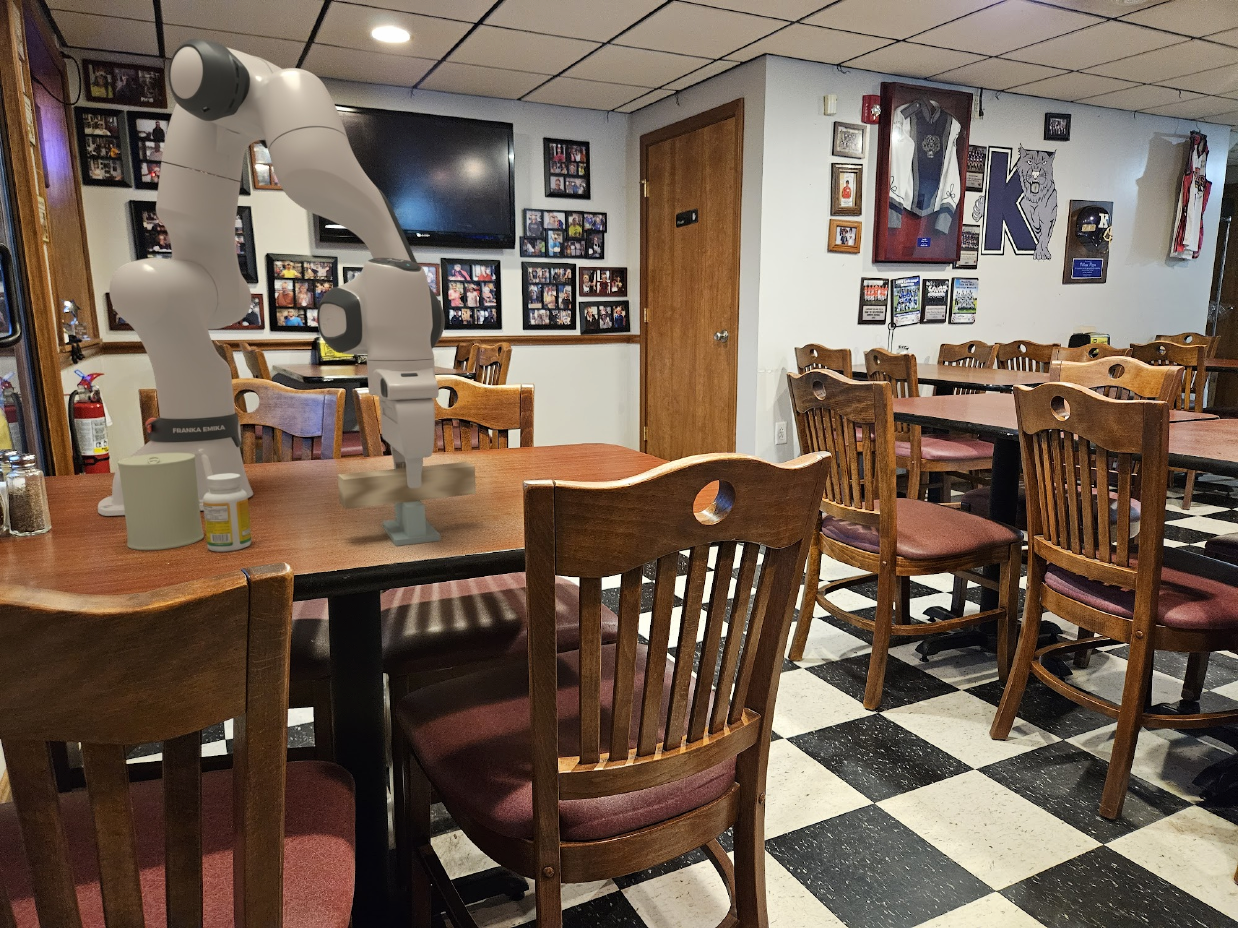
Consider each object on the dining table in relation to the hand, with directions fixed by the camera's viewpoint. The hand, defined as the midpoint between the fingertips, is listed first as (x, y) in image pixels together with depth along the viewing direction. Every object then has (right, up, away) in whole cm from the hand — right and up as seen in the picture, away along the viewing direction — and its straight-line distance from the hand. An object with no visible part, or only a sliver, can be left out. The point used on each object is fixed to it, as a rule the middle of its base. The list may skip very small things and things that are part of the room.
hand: (407, 480), depth 112 cm
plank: (0, -3, +1) cm, 3 cm away
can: (-33, -8, -1) cm, 34 cm away
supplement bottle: (-23, -9, -4) cm, 25 cm away
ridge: (0, -7, +1) cm, 8 cm away
